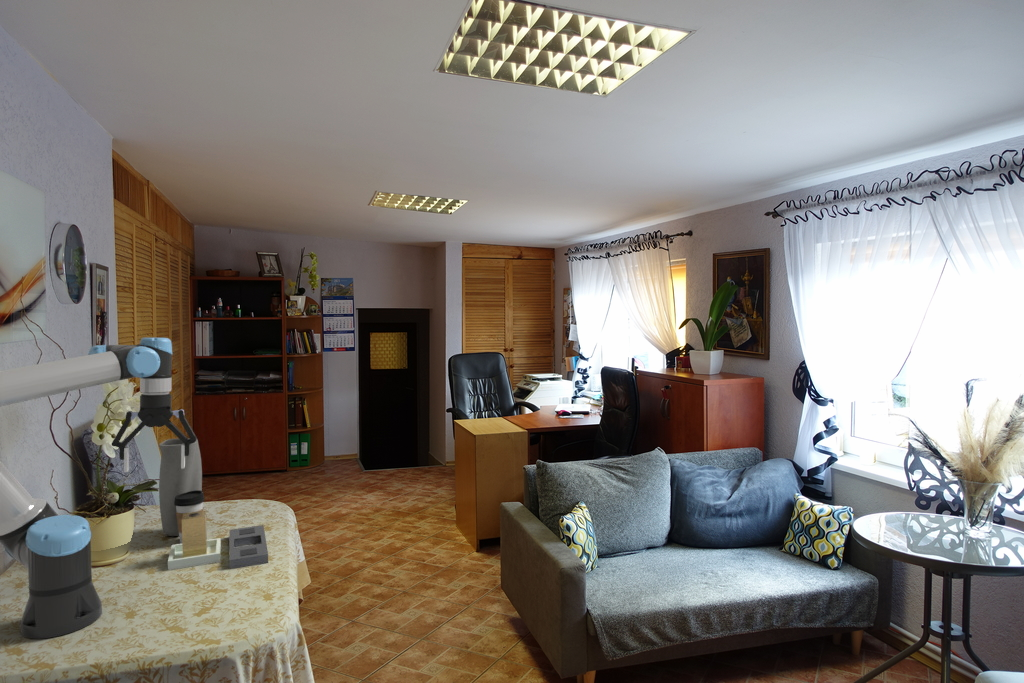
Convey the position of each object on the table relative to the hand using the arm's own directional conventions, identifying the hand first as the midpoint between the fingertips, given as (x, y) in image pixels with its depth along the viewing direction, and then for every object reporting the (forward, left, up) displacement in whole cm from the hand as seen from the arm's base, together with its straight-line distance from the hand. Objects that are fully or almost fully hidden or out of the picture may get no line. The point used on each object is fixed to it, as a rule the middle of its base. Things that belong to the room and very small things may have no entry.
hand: (155, 469), depth 168 cm
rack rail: (+4, -23, -28) cm, 36 cm away
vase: (+28, -4, -28) cm, 40 cm away
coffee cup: (+19, -7, -28) cm, 34 cm away
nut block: (+4, -9, -27) cm, 29 cm away
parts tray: (+4, -9, -28) cm, 30 cm away
